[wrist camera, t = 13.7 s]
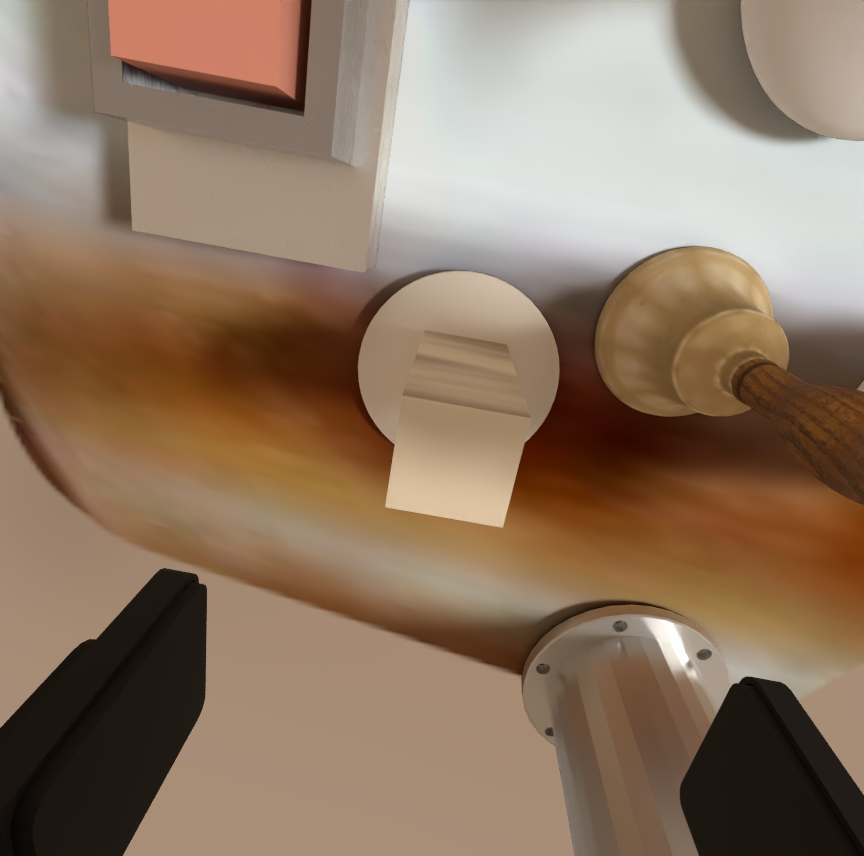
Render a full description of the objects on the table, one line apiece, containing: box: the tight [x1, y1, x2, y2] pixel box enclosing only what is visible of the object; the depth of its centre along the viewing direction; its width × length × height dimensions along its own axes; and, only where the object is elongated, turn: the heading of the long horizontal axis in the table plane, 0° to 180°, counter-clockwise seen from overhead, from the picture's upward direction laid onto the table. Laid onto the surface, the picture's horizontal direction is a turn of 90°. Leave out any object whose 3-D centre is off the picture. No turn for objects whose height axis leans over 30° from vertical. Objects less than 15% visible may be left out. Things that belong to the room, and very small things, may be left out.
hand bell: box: [594, 247, 864, 505], centre depth 18 cm, size 8×8×16 cm
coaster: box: [358, 270, 559, 444], centre depth 26 cm, size 10×10×1 cm
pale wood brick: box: [385, 330, 531, 528], centre depth 21 cm, size 4×4×10 cm
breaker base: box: [87, 0, 409, 273], centre depth 19 cm, size 16×10×6 cm, turn 170°
